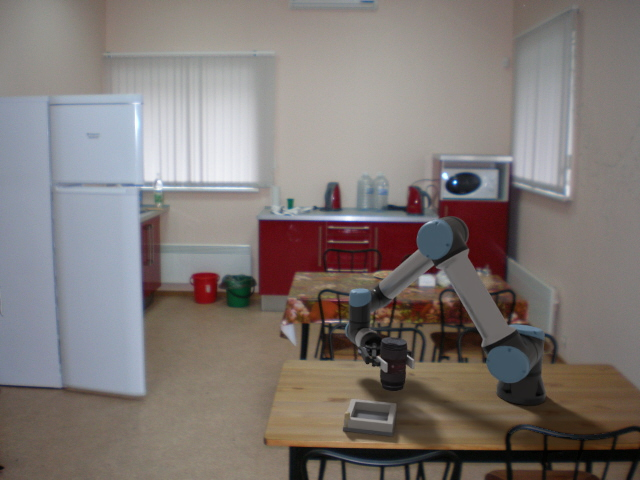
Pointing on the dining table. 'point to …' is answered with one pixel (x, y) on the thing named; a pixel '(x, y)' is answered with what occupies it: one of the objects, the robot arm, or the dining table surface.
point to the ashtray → (370, 417)
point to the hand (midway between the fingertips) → (399, 366)
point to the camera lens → (393, 363)
